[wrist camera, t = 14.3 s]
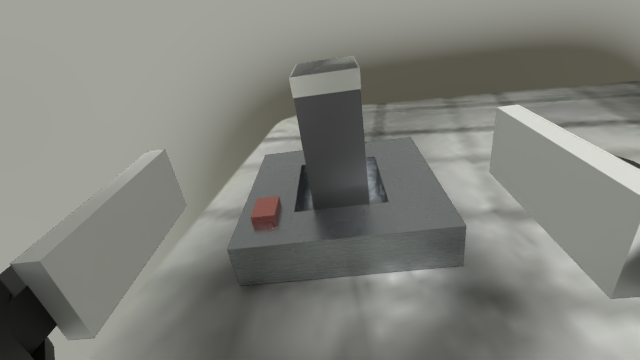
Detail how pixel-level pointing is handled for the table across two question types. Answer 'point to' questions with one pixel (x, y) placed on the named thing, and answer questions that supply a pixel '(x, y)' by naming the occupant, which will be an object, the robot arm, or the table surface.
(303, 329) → the table surface
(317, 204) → the plug
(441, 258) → the socket block
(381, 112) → the table surface
